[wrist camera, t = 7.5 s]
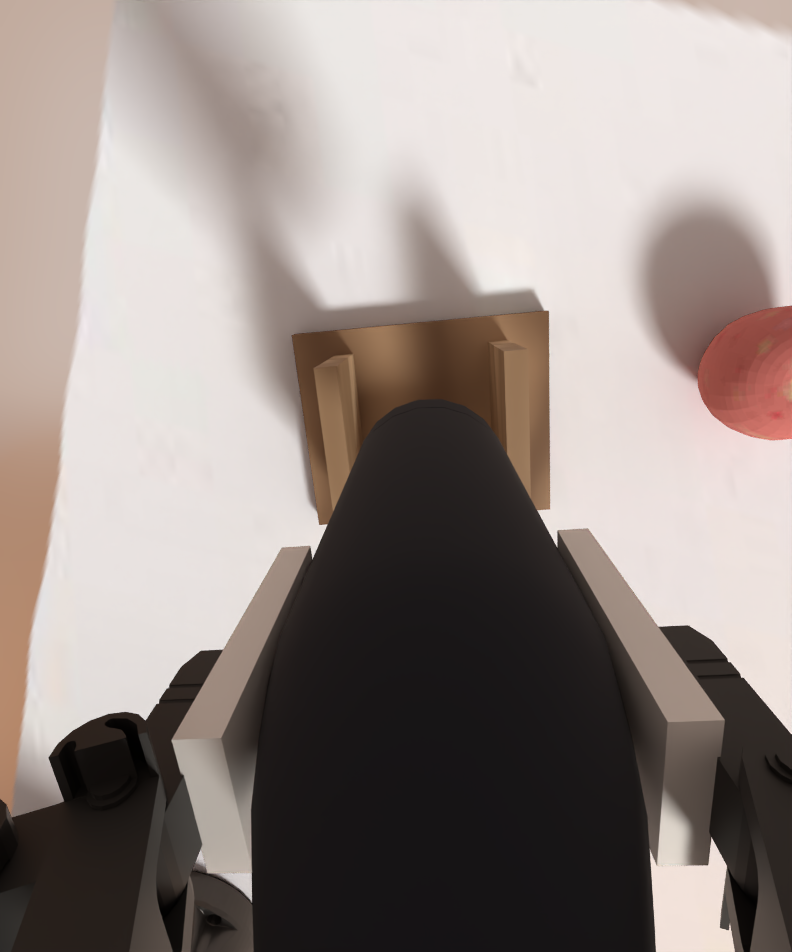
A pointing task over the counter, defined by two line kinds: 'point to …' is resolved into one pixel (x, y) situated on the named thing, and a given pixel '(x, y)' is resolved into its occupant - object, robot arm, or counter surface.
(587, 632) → the wine bottle
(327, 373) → the u rest
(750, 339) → the apple
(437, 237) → the counter surface
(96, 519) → the counter surface
